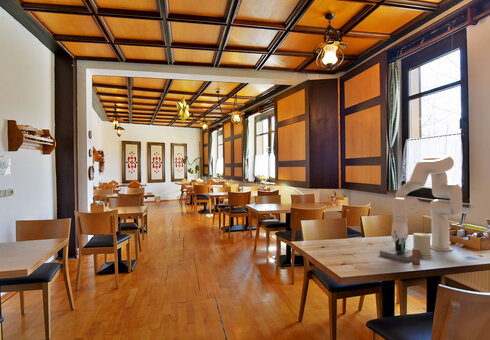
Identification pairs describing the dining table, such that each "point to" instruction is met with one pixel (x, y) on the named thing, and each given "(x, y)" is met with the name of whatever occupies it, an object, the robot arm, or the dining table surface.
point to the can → (422, 243)
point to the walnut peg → (416, 256)
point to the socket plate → (398, 254)
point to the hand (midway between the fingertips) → (400, 249)
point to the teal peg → (402, 246)
